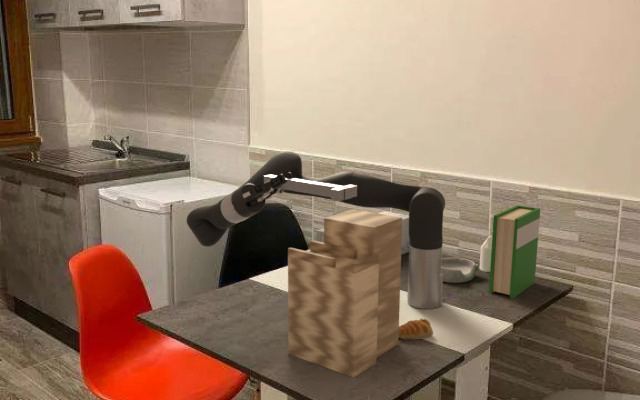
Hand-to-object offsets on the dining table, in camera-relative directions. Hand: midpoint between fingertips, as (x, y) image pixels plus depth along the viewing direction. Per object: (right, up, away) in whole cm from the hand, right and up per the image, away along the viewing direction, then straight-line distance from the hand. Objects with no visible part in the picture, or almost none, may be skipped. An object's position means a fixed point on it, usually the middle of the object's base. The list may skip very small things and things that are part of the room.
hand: (287, 176), depth 152 cm
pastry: (+32, -40, +14) cm, 53 cm away
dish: (+50, -31, +59) cm, 83 cm away
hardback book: (+67, -33, +49) cm, 89 cm away
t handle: (+4, -3, -3) cm, 6 cm away
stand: (+14, -41, +5) cm, 44 cm away
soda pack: (+24, -27, +77) cm, 85 cm away
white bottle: (+64, -29, +66) cm, 96 cm away
